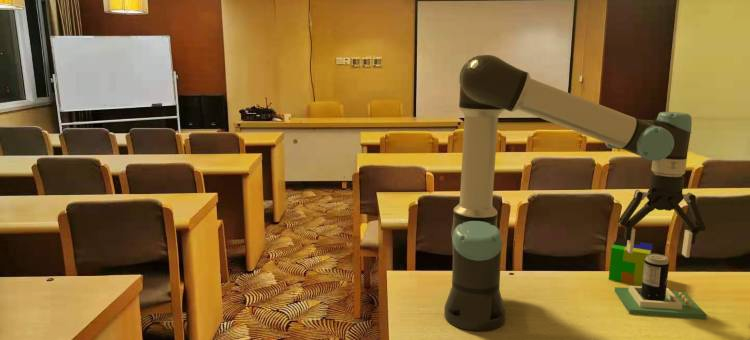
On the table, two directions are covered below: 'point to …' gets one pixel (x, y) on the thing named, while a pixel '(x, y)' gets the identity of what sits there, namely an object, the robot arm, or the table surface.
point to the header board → (659, 304)
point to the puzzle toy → (628, 262)
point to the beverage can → (655, 277)
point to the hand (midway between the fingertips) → (657, 253)
